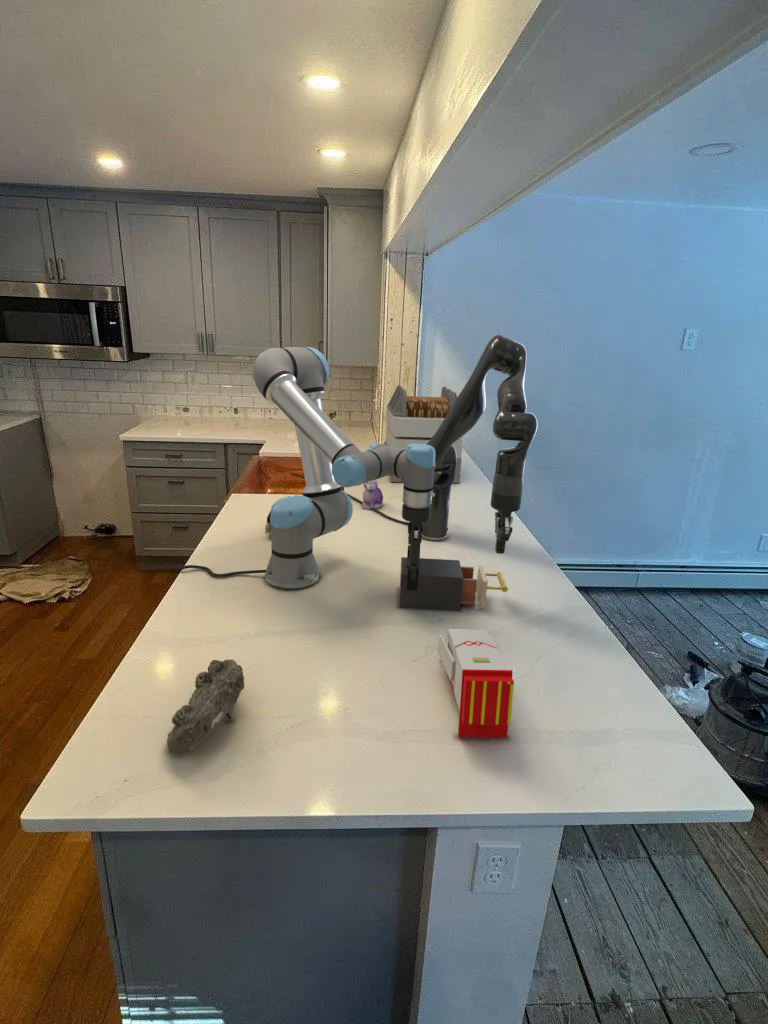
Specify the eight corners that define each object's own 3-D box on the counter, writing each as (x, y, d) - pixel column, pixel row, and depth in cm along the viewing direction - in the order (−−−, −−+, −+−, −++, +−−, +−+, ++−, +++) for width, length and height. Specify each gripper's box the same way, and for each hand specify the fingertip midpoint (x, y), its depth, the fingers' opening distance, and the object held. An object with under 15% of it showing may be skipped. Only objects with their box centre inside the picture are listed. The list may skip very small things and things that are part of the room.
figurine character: (285, 543, 190) (291, 523, 204) (284, 523, 187) (290, 504, 201) (265, 543, 190) (272, 522, 204) (263, 523, 187) (271, 503, 200)
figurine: (367, 511, 220) (368, 474, 215) (356, 503, 228) (357, 467, 223) (388, 508, 224) (390, 471, 219) (377, 500, 233) (378, 465, 228)
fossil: (192, 660, 117) (244, 628, 112) (224, 691, 120) (276, 661, 115) (142, 746, 98) (202, 712, 93) (182, 779, 101) (242, 748, 96)
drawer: (499, 591, 160) (502, 566, 157) (505, 609, 150) (509, 582, 148) (427, 587, 160) (429, 562, 157) (428, 604, 151) (430, 578, 148)
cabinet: (456, 591, 161) (459, 560, 158) (460, 610, 150) (463, 577, 147) (399, 588, 161) (401, 557, 158) (399, 607, 151) (401, 574, 147)
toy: (488, 613, 130) (523, 677, 101) (484, 667, 133) (517, 744, 104) (435, 612, 130) (455, 676, 101) (432, 666, 133) (451, 743, 103)
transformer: (382, 463, 289) (386, 382, 275) (445, 464, 293) (451, 384, 279) (390, 482, 257) (394, 392, 243) (460, 483, 261) (468, 394, 247)
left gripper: (433, 522, 135) (427, 601, 142) (429, 490, 158) (423, 559, 165) (402, 520, 135) (397, 599, 142) (402, 488, 158) (398, 557, 166)
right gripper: (527, 499, 138) (518, 563, 144) (517, 483, 151) (509, 543, 156) (496, 497, 138) (488, 562, 144) (488, 482, 151) (482, 542, 157)
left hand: (411, 578), depth 154 cm, fingers open, 13 cm apart
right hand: (499, 552), depth 150 cm, fingers closed
